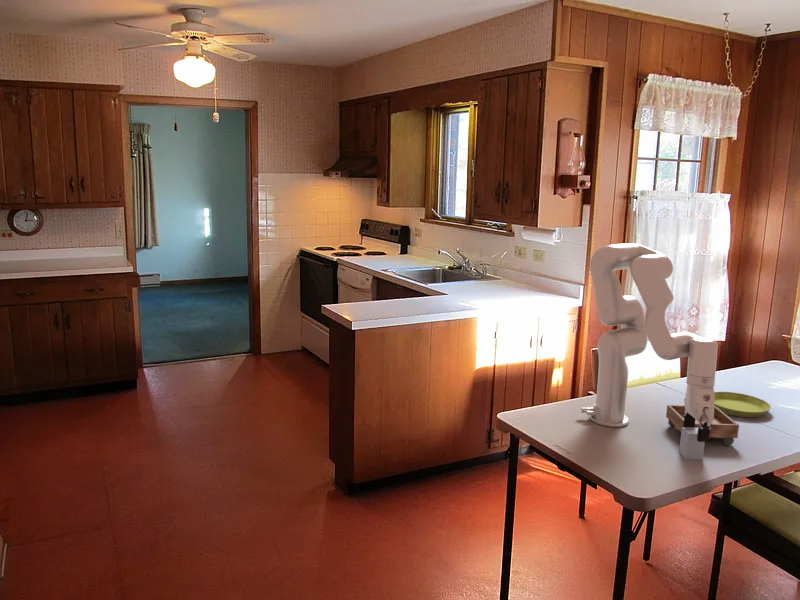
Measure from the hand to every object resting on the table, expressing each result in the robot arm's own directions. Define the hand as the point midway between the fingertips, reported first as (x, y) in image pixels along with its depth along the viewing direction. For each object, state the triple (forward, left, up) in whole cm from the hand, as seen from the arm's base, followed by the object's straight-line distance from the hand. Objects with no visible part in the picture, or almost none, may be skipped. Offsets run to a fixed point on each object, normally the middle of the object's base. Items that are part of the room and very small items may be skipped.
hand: (695, 434), depth 192 cm
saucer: (+33, +41, -8) cm, 53 cm away
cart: (+8, +16, -7) cm, 19 cm away
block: (0, +1, -7) cm, 7 cm away
